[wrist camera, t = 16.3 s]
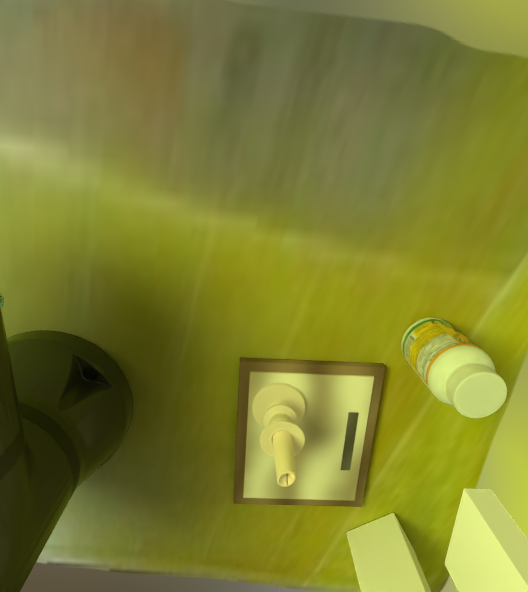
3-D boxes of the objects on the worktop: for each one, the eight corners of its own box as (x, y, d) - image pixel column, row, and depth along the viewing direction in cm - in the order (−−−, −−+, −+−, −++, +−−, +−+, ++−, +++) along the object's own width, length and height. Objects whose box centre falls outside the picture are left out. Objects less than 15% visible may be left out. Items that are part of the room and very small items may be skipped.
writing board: (234, 497, 44) (233, 505, 43) (240, 357, 39) (239, 362, 38) (360, 500, 45) (362, 508, 44) (382, 363, 40) (386, 368, 39)
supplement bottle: (390, 333, 39) (432, 385, 30) (441, 305, 38) (501, 350, 29) (414, 375, 40) (461, 437, 31) (463, 349, 39) (527, 405, 30)
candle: (309, 385, 39) (328, 460, 29) (299, 430, 41) (314, 516, 31) (256, 378, 39) (257, 452, 29) (248, 424, 40) (246, 509, 30)
